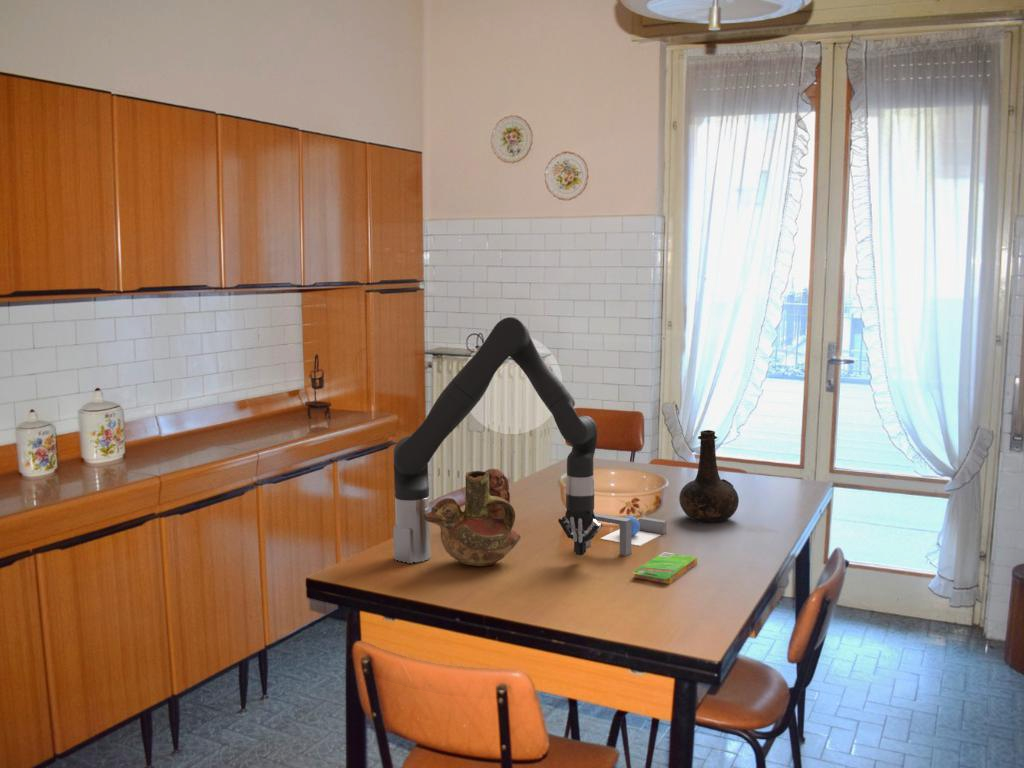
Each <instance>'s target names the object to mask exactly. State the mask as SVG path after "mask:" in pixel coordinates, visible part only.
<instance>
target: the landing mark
mask: <svg viewBox="0 0 1024 768" xmlns="http://www.w3.org/2000/svg"><path fill="white" fill-rule="evenodd" d="M660 536H661V537H662V534H660V533H654V532H649V531H643V530H639V531H638V533H637V534H636V535H634V536H631V546H636V547H641V546H643V545H645V544H647V543H650V542H651V541H653V540H655V539H657V538H659V537H660ZM599 539H600V540H604V541H610V542H613V543H614V542H615V543H620V529H617V530H614V531H613V532H611V533H608V534H607V535H604V536H602V537H600V538H599Z"/></svg>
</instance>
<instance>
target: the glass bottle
mask: <svg viewBox="0 0 1024 768" xmlns="http://www.w3.org/2000/svg"><path fill="white" fill-rule="evenodd" d="M717 438H718V436H716V431H714V430H710V429H706V430H705V429H704V430H701V431H700V435H699V436H698V437H697V440H700V444H699V445H700V447H699V448H700V449H699V461H698V469H697V474H696V477H695V478H694V480H691V481H688V482H687V483H686V484H685V485H684V486H683V487H682V488H681V491H680V493H679V499H678V500H679V505H680V507H681V510H682V511H683V512H684V513H685V515H686V516H687V517H689V518H690V519H691V520H693V521H696V522H699V523H700V522H701V523H704V524H706V523H707V524H715V523H722V522H725V521H727V520H728V519H730V518H731V517H733V515H735V513H736V511H737V510H738V506H739V494H738V492H737V490H736V489H735V487H734V485H733V484H732V483H731V482H729V481H728V480H726V479H724V478H722V479H721V477H720V474H719V471H718V466H717V465H718V464H717V455H716V439H717Z"/></svg>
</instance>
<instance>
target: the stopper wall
mask: <svg viewBox="0 0 1024 768" xmlns="http://www.w3.org/2000/svg"><path fill="white" fill-rule="evenodd" d="M642 517H643V518H642V519H639V520H638V521H639V524H640V529H639V531H643V532H649V533H655V534H660V535H664V534H666V533H667V520H664V519H657V518H650V517H644V516H642Z"/></svg>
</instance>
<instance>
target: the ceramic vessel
mask: <svg viewBox="0 0 1024 768" xmlns="http://www.w3.org/2000/svg"><path fill="white" fill-rule="evenodd" d="M464 504H465V505H464V510H462V508H461V506H460V505H459V504H458V502H457V501H456V500H455V499H454V498H453V497H452V498H451V497H446V498H442V499H440V500H439V501H437V502H436V504H435V505H434V506H432V507H431V510H430V511H429V513H427V514H425V515H424V517H425V520H426V521H427V522H430V523H431V524H434V525H437V526H439V527H440V541H441V543H442V546H443V548H444V550H445V552H446V553H447V554H448V555H449V556H451V557H452V558H453V559H454V560H455V561H456V562H457V561H458V562H459V563H461V564H464V565H468V566H474V567H475V566H476V567H486V566H490V565H493V564H496V563H497V562H499V561H501V560H503V559H504V557H506V556H507V555H508V554H509V553H510V552H511V551H512V550H513V549H514V548H515V547H516V545H517V544H518V543H519V541H520V539H521V534H519V533H518V532H516V531H515V530H513V527H514V524H515V521H516V511H515V509H514V507H513V505H512V504H511V502H510V503H509V502H508V501H506V500H505V499H503V498H500V497H496V496H490V494H489V473H488V472H485V471H481V470H472V471H467V472H466V474H465V503H464ZM493 504H499V505H501V506H502V507H503V508H504V510H505V516H504V517H503V518H497V517H494V516H493V515H491V513H490V507H491V505H493Z"/></svg>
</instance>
